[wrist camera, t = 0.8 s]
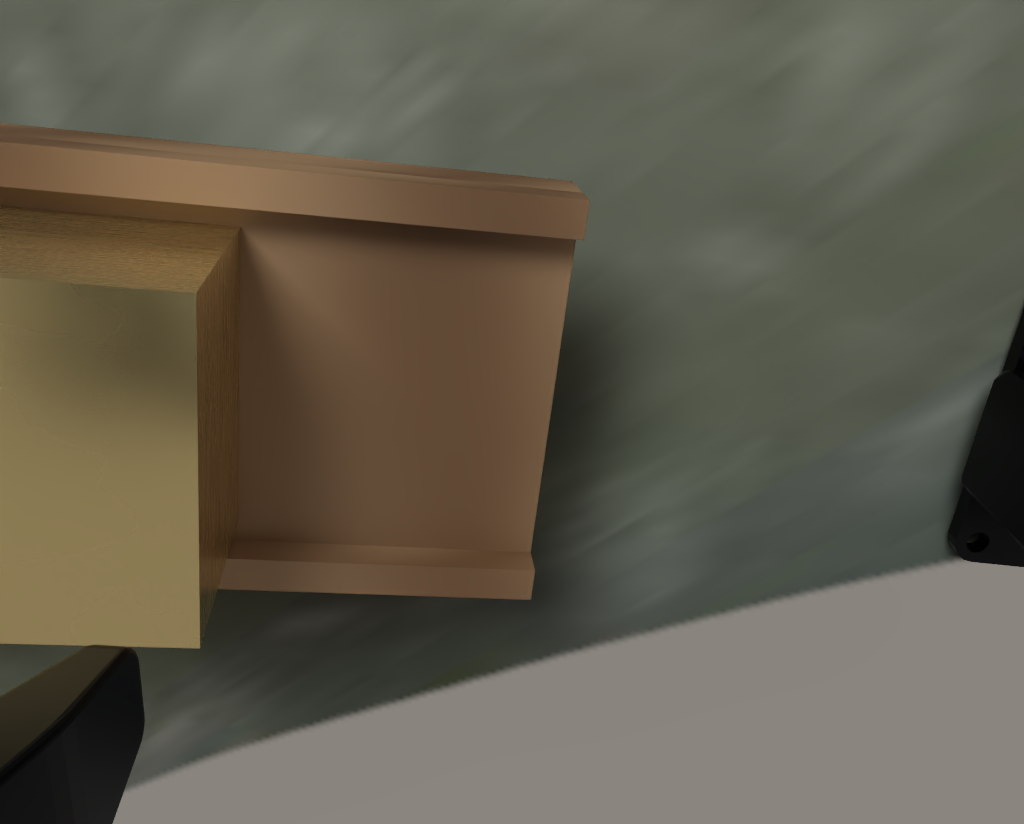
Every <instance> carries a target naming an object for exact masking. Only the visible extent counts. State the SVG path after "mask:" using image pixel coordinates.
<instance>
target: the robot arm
mask: <svg viewBox="0 0 1024 824" xmlns="http://www.w3.org/2000/svg"><path fill="white" fill-rule="evenodd" d="M961 480H962V483H963V484H964V487H963V490H962V493H961V496H960V499H959V502H958V505H957V508H956V511H955V514H954V517H953V520H952V523H951V526H950V529H949V533H948V541H949V543H950V546H951V547H952V548H953V549H954V550H955V552H956V553H957V554H958V555H959V556H960V557H961V558H962V559H964V560H967V561H971V562H979V563H989V564H999V565H1009V566H1019V567H1024V310H1023V313H1022V316H1021V319H1020V322H1019V325H1018V328H1017V331H1016V334H1015V337H1014V340H1013V343H1012V345H1011V348H1010V351H1009V354H1008V357H1007V360H1006V363H1005V366H1004V369H1003V372H1002V373H1001V374H1000V375H999V376H998V377H997V378H996V379H995V380H994V382H993V385H992V388H991V391H990V394H989V397H988V400H987V403H986V406H985V409H984V412H983V415H982V418H981V421H980V424H979V427H978V430H977V433H976V436H975V439H974V442H973V445H972V448H971V451H970V454H969V457H968V460H967V463H966V466H965V469H964V472H963V474H962V478H961ZM975 533H981V535H980V537H979V538H978V540H976V541H974V542H973V543H967V540H968V539H969V537H970V536H972V535H973V534H975ZM144 722H145V716H144V706H143V696H142V687H141V677H140V668H139V661H138V657H137V654H136V652H135V651H134V650H133V649H131V648H130V647H126V646H111V645H89V646H87V647H85V648H83V649H81V650H79V651H77V652H76V653H74V654H72V655H70V656H69V657H67V658H65V659H64V660H62V661H60V662H58V663H57V664H55V665H53V666H52V667H50V668H48V669H46V670H45V671H43V672H41V673H40V674H38V675H36V676H34V677H33V678H31V679H29V680H28V681H26V682H24V683H22V684H21V685H19V686H17V687H16V688H14V689H12V690H10V691H9V692H7V693H5V694H4V695H2V696H0V824H112V823H113V820H114V817H115V815H116V812H117V809H118V806H119V803H120V801H121V798H122V795H123V792H124V790H125V787H126V784H127V781H128V778H129V775H130V773H131V770H132V767H133V764H134V761H135V759H136V756H137V753H138V750H139V747H140V744H141V741H142V737H143V732H144Z"/></svg>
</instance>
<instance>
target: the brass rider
mask: <svg viewBox="0 0 1024 824" xmlns="http://www.w3.org/2000/svg"><path fill="white" fill-rule="evenodd" d="M240 248H241V227H237V226H226V225H214V224H203V223H192V222H181V221H170V220H159V219H147V218H136V217H125V216H114V215H103V214H92V213H81V212H69V211H58V210H47V209H36V208H25V207H14V206H2V205H0V643H1V644H41V645H82V646H89V645H111V646H126V647H162V648H200V647H201V644H202V640H203V637H204V634H205V630H206V627H207V624H208V620H209V617H210V614H211V610H212V607H213V604H214V600H215V597H216V594H217V590H218V587H219V583H220V580H221V577H222V573H223V570H224V567H225V563H226V560H227V557H228V553H229V550H230V547H231V543H232V540H233V537H234V533H235V530H236V527H237V523H238V520H239V388H240Z"/></svg>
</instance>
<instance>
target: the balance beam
mask: <svg viewBox="0 0 1024 824" xmlns="http://www.w3.org/2000/svg"><path fill="white" fill-rule="evenodd" d="M589 204H590V200H589V199H588V198H587V197H586V196H585V195H584V194H583V192H582V191H581V190H580V189H579V188H578V187H577V186H576V185H575V184H574V183H573V182H572V181H565V180H555V179H545V178H535V177H525V176H515V175H506V174H496V173H486V172H476V171H466V170H456V169H447V168H437V167H427V166H417V165H407V164H397V163H388V162H378V161H368V160H358V159H348V158H339V157H329V156H319V155H309V154H299V153H289V152H280V151H270V150H260V149H250V148H240V147H230V146H221V145H211V144H201V143H191V142H181V141H171V140H162V139H152V138H142V137H132V136H122V135H113V134H103V133H93V132H83V131H73V130H63V129H54V128H44V127H34V126H24V125H14V124H4V123H0V205H2V206H14V207H25V208H36V209H47V210H58V211H69V212H81V213H92V214H103V215H114V216H125V217H136V218H147V219H159V220H170V221H181V222H192V223H203V224H214V225H226V226H237V227H241V248H240V388H239V520H238V523H237V527H236V530H235V533H234V537H233V540H232V543H231V547H230V550H229V553H228V557H227V560H226V563H225V567H224V570H223V573H222V577H221V580H220V583H219V587H218V589H229V590H259V591H288V592H317V593H346V594H376V595H405V596H434V597H463V598H492V599H522V600H531V595H532V589H533V582H534V575H535V568H534V564H533V560H532V556H531V546H532V539H533V532H534V526H535V519H536V512H537V505H538V498H539V491H540V484H541V477H542V470H543V463H544V456H545V450H546V443H547V436H548V429H549V422H550V415H551V408H552V401H553V394H554V387H555V380H556V374H557V367H558V360H559V353H560V346H561V339H562V332H563V325H564V318H565V311H566V304H567V298H568V291H569V284H570V277H571V270H572V263H573V256H574V249H575V242H576V240H584V238H585V231H586V224H587V217H588V211H589Z"/></svg>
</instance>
